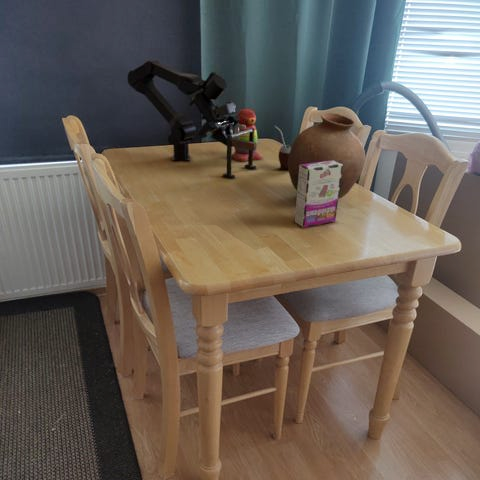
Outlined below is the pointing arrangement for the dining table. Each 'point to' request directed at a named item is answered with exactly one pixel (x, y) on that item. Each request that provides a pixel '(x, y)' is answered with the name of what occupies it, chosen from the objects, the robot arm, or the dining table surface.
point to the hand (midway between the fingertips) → (233, 146)
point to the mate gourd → (284, 153)
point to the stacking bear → (246, 135)
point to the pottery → (329, 149)
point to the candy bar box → (317, 193)
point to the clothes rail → (229, 152)
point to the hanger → (243, 141)
